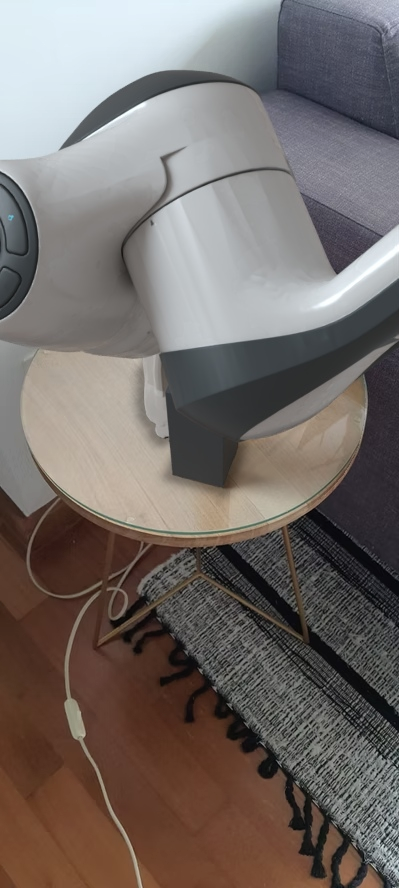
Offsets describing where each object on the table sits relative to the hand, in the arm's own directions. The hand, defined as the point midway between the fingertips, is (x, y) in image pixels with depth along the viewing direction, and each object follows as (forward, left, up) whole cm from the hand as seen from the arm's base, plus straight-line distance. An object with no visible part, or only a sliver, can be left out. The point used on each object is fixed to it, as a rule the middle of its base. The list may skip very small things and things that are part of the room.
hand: (195, 313), depth 59 cm
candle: (+7, -10, -24) cm, 26 cm away
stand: (0, -1, -23) cm, 23 cm away
